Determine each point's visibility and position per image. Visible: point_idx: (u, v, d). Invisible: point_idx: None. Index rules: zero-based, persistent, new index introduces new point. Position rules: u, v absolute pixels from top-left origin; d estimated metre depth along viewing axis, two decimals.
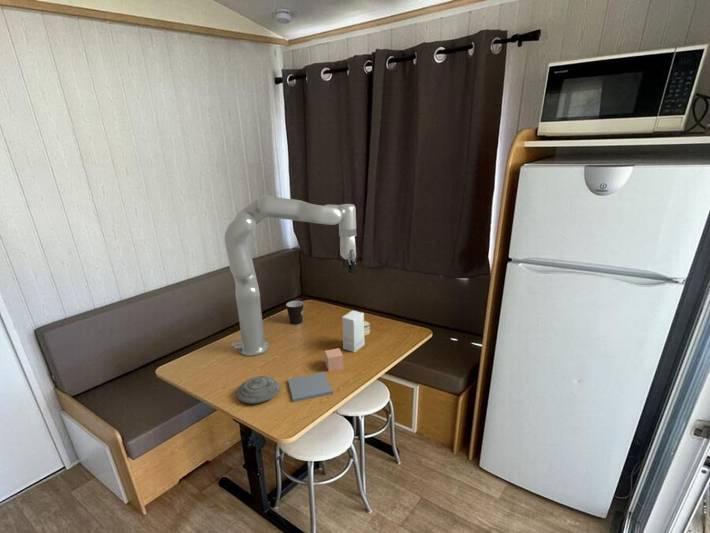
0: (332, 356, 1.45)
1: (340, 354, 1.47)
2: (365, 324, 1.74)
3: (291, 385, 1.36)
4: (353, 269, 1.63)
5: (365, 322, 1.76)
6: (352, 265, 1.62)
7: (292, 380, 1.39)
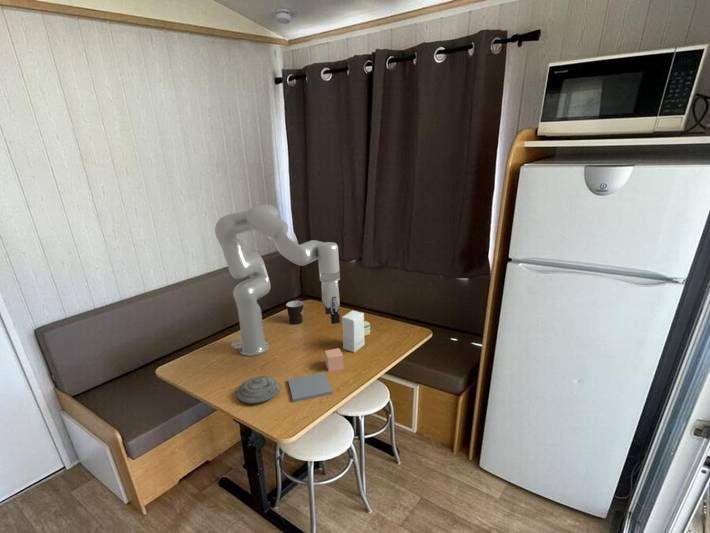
0: (332, 356, 1.45)
1: (340, 354, 1.47)
2: (365, 324, 1.74)
3: (291, 385, 1.36)
4: (336, 319, 1.38)
5: (365, 322, 1.76)
6: (335, 315, 1.37)
7: (292, 380, 1.39)
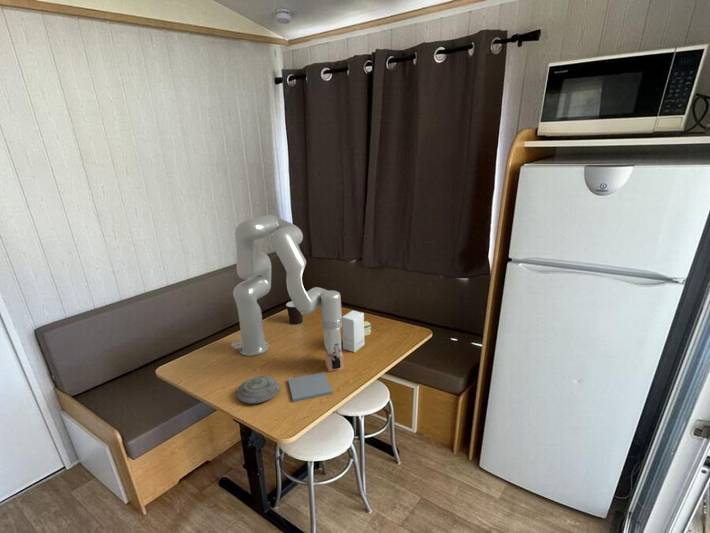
0: None
1: (340, 354, 1.47)
2: (366, 324, 1.74)
3: (291, 385, 1.36)
4: (337, 365, 1.45)
5: (366, 322, 1.76)
6: (336, 361, 1.44)
7: (292, 380, 1.39)
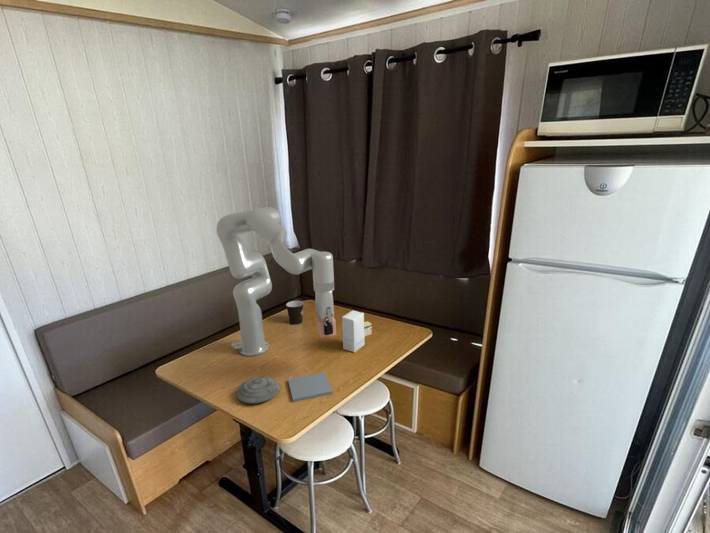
0: None
1: (333, 319, 1.39)
2: (367, 324, 1.74)
3: (291, 385, 1.36)
4: (329, 330, 1.37)
5: (367, 322, 1.76)
6: (328, 326, 1.37)
7: (292, 380, 1.39)
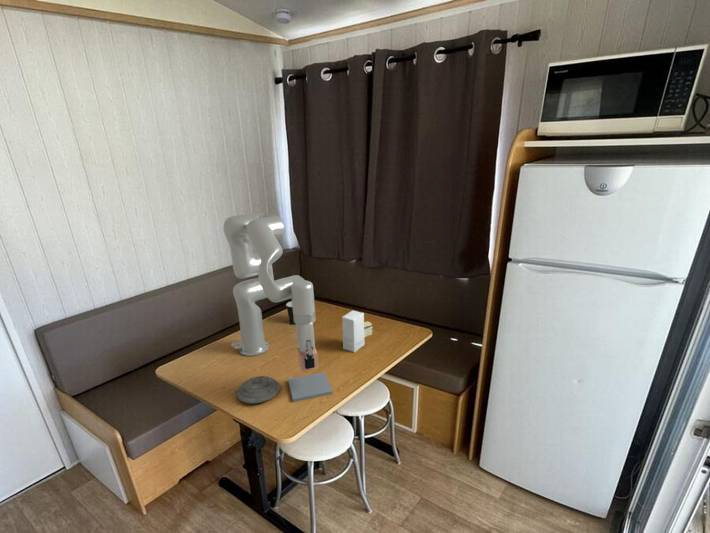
0: None
1: (314, 352, 1.31)
2: (367, 324, 1.73)
3: (291, 385, 1.36)
4: (310, 364, 1.29)
5: (367, 322, 1.76)
6: (309, 359, 1.28)
7: (292, 380, 1.39)
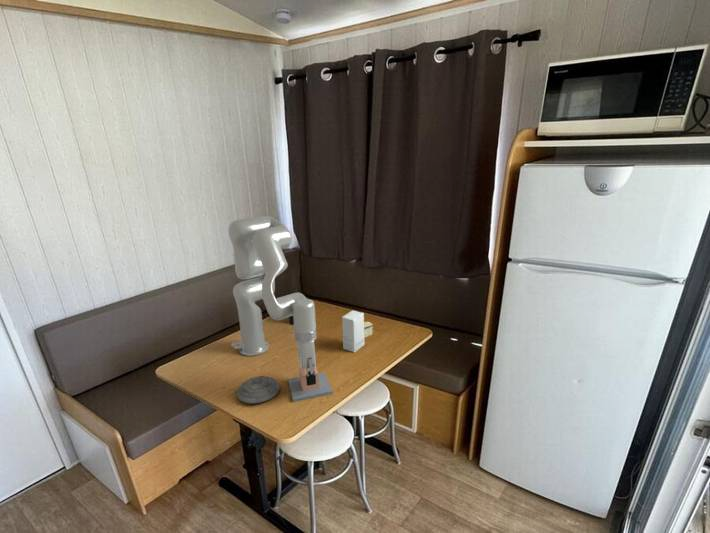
0: (306, 374, 1.32)
1: (315, 372, 1.33)
2: (368, 324, 1.73)
3: (291, 385, 1.36)
4: (312, 381, 1.29)
5: (368, 322, 1.75)
6: (311, 376, 1.29)
7: (292, 380, 1.39)
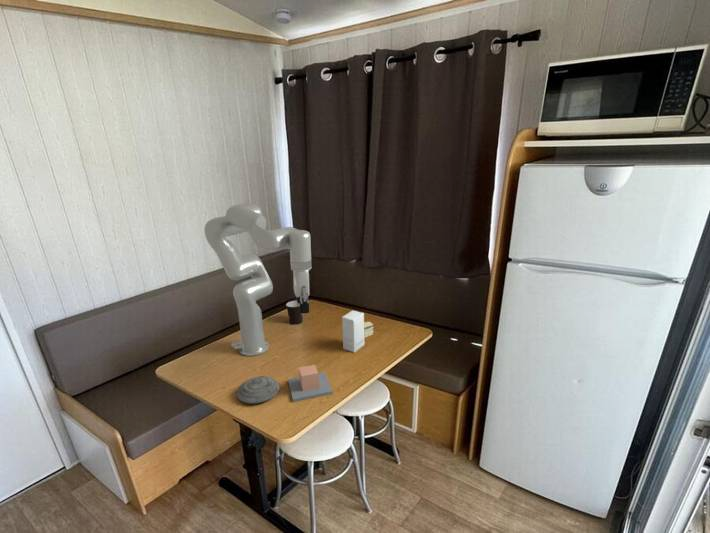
0: (306, 374, 1.32)
1: (315, 372, 1.33)
2: (368, 325, 1.73)
3: (291, 385, 1.36)
4: (305, 309, 1.35)
5: (368, 323, 1.75)
6: (304, 304, 1.35)
7: (292, 380, 1.39)
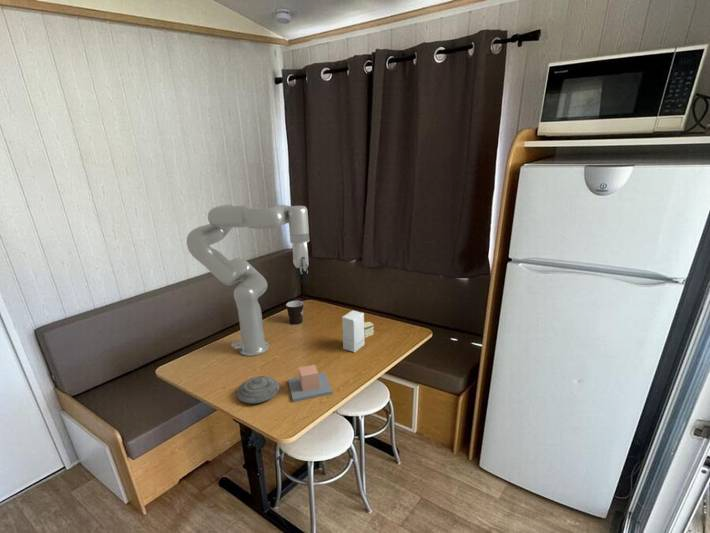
0: (306, 374, 1.32)
1: (315, 372, 1.33)
2: (369, 325, 1.73)
3: (291, 385, 1.36)
4: (305, 279, 1.45)
5: (369, 323, 1.75)
6: (304, 274, 1.45)
7: (292, 380, 1.39)
